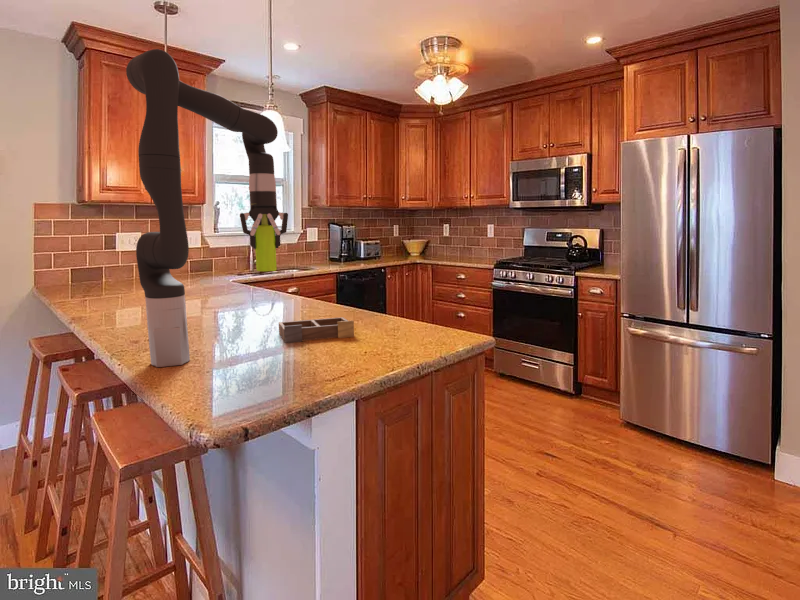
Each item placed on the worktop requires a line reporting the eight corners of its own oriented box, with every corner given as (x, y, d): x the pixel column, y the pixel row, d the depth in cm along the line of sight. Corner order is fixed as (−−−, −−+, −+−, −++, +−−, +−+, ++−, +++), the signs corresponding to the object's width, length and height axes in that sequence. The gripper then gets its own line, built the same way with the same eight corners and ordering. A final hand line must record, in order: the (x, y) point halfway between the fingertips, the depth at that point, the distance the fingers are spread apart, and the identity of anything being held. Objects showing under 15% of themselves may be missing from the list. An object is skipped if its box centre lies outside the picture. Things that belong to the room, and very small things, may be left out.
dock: (354, 336, 160) (353, 320, 159) (285, 343, 152) (284, 326, 152) (343, 328, 172) (343, 313, 171) (279, 334, 165) (278, 318, 164)
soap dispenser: (249, 271, 152) (245, 202, 149) (265, 269, 158) (262, 202, 155) (265, 272, 150) (261, 201, 147) (280, 269, 156) (277, 202, 153)
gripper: (237, 189, 145) (241, 249, 147) (289, 189, 150) (292, 248, 152) (236, 190, 151) (239, 248, 154) (285, 191, 157) (288, 247, 159)
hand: (265, 248), depth 153 cm, fingers closed on soap dispenser, 6 cm apart
